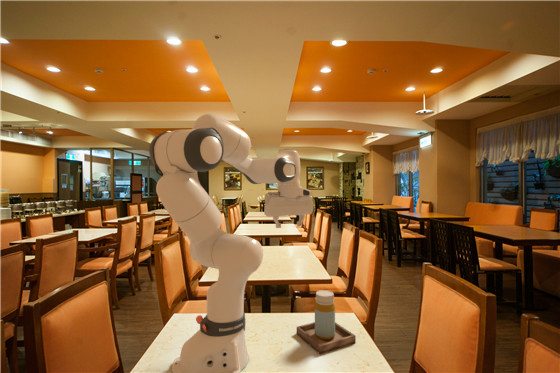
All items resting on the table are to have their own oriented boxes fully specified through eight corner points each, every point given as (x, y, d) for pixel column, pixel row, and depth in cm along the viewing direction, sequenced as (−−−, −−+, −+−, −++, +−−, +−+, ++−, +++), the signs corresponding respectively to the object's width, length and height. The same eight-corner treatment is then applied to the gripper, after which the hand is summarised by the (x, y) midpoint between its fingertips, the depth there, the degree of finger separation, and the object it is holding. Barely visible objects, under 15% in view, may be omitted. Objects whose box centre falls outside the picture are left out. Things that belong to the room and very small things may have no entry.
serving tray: (320, 354, 95) (320, 346, 95) (296, 333, 108) (296, 326, 108) (355, 342, 102) (355, 335, 102) (329, 324, 115) (329, 318, 115)
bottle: (333, 331, 108) (333, 289, 108) (336, 341, 101) (336, 297, 101) (314, 330, 109) (314, 289, 109) (315, 340, 102) (315, 296, 102)
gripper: (268, 192, 110) (268, 230, 110) (315, 191, 119) (315, 226, 119) (261, 191, 115) (261, 227, 115) (306, 191, 125) (306, 224, 125)
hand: (289, 227), depth 117 cm, fingers open, 8 cm apart
